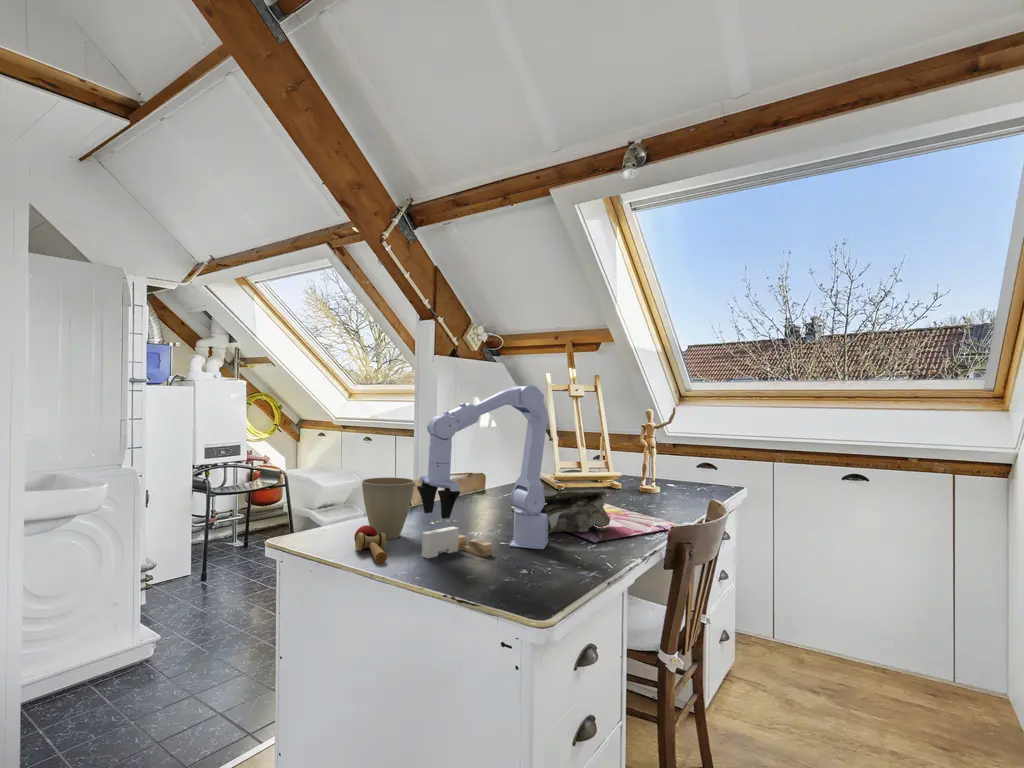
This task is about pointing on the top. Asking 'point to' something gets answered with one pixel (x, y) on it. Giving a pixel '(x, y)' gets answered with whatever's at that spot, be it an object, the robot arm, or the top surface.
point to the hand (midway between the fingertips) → (436, 515)
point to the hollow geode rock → (575, 511)
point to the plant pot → (387, 503)
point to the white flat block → (440, 541)
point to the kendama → (371, 542)
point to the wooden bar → (475, 546)
